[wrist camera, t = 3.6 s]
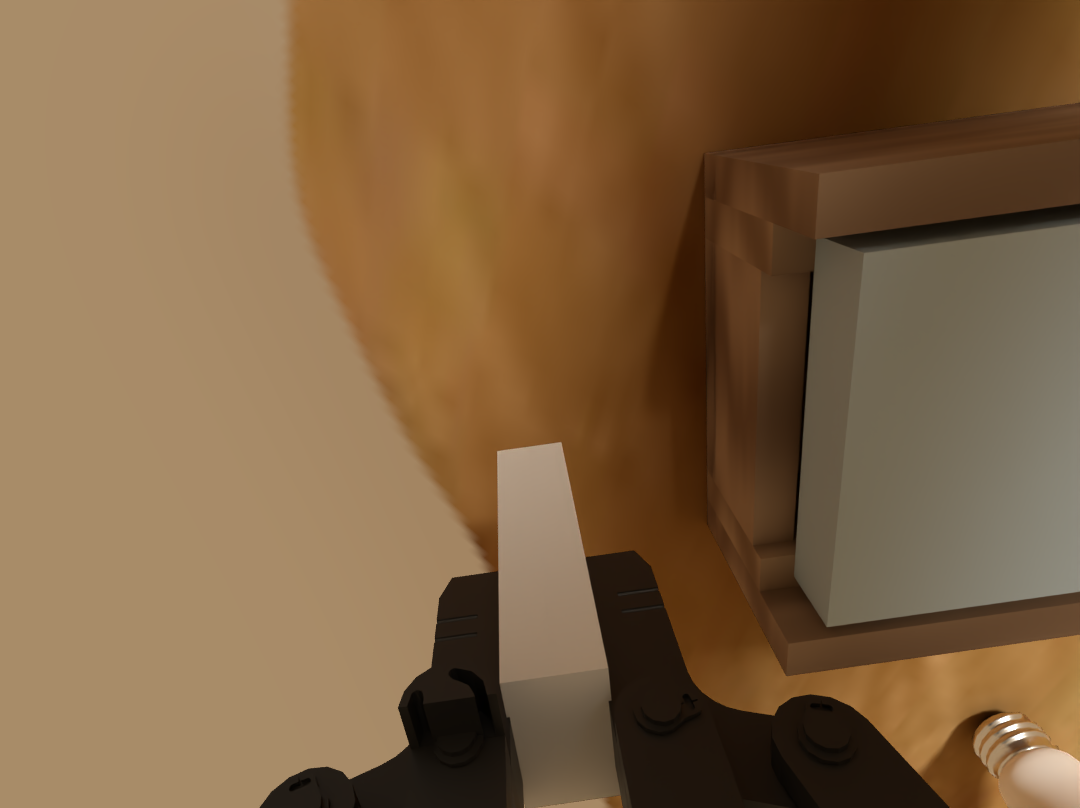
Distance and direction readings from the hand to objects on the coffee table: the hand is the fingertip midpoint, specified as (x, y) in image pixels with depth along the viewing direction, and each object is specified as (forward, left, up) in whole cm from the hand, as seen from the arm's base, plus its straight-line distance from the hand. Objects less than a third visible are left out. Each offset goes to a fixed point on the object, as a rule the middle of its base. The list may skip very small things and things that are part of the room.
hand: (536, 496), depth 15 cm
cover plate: (0, +14, -1) cm, 14 cm away
